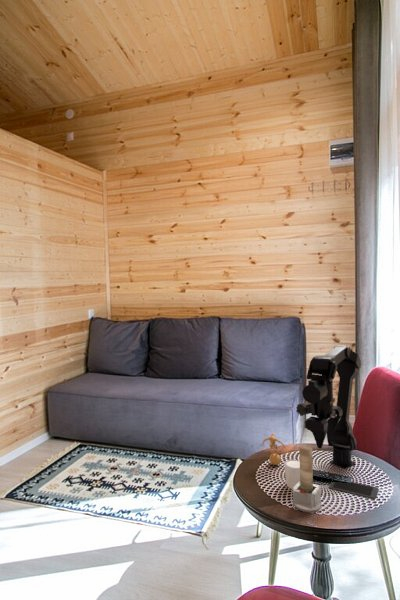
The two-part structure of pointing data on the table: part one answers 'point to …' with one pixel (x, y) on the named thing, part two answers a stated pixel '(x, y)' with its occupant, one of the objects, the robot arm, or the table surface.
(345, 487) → the cell phone
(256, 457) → the table surface
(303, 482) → the post
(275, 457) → the figurine
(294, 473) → the white short cylinder
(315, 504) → the stand
